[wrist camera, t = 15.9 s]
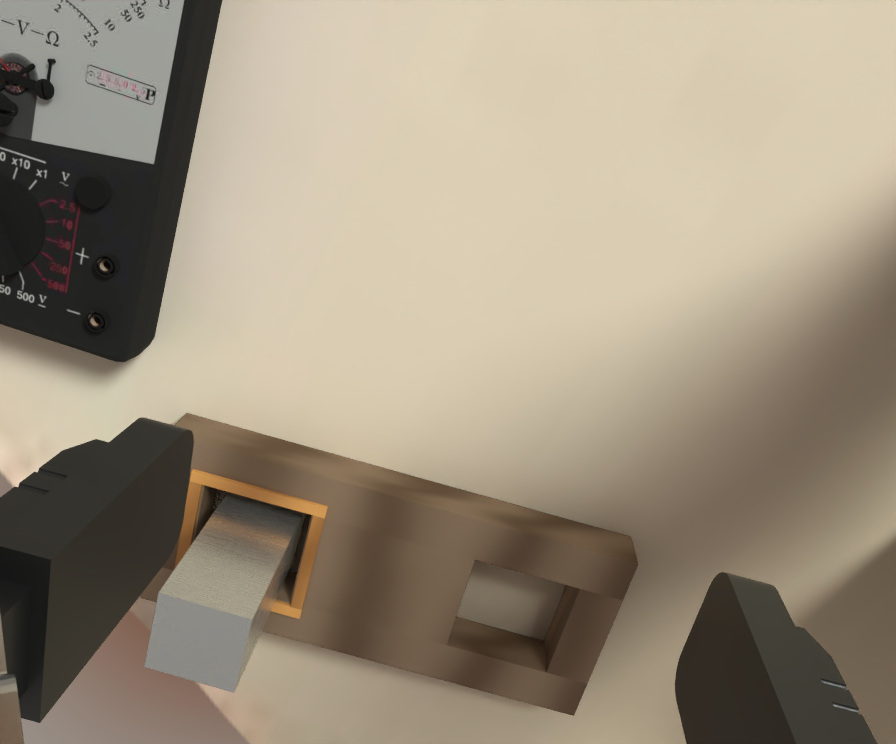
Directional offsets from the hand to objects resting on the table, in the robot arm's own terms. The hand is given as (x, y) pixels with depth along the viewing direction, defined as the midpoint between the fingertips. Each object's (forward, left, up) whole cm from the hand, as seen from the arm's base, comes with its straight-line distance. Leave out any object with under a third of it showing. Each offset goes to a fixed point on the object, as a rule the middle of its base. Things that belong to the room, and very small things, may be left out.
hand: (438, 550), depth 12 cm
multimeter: (+21, 0, -27) cm, 34 cm away
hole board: (0, +18, -26) cm, 32 cm away
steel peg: (+7, +18, -26) cm, 33 cm away
